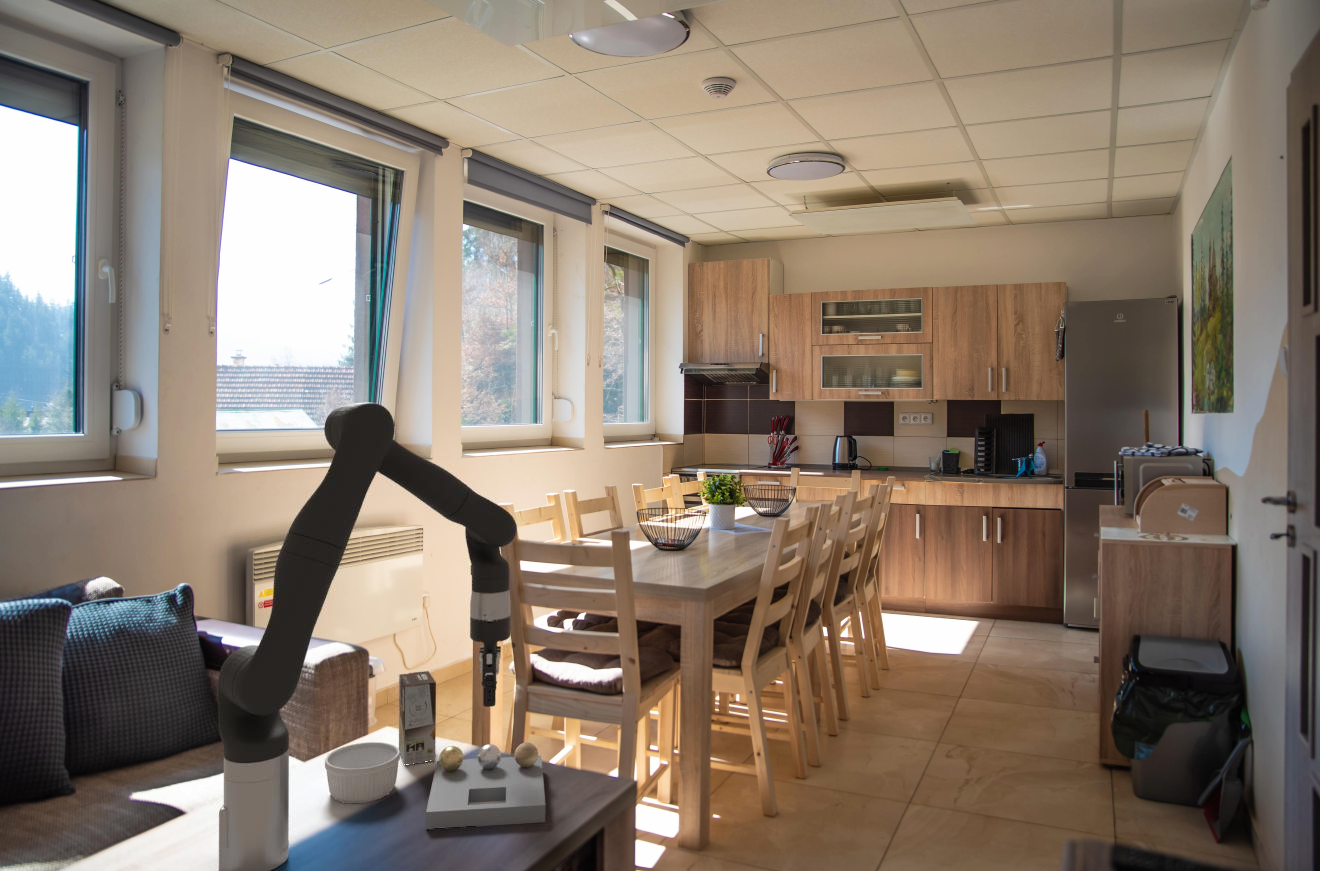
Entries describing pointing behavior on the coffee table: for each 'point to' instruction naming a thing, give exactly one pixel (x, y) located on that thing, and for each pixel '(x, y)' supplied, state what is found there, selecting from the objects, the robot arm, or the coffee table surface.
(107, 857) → the coffee table surface
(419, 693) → the coffee box
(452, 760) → the brass ball
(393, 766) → the ramekin
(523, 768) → the board
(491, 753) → the steel ball
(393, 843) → the coffee table surface
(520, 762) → the oak ball
